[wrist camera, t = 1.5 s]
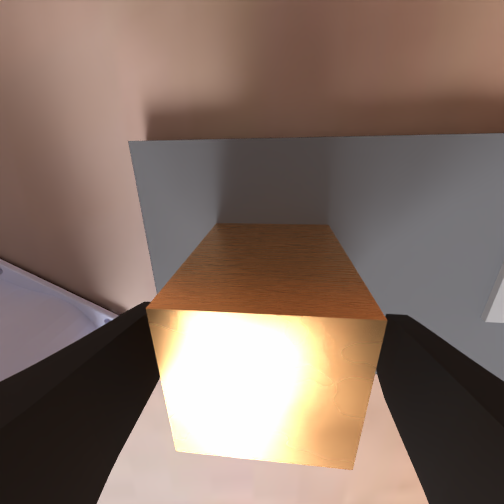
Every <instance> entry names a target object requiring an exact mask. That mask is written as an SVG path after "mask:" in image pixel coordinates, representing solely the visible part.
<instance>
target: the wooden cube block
mask: <svg viewBox="0 0 504 504" xmlns="http://www.w3.org/2000/svg"><path fill="white" fill-rule="evenodd" d="M146 312H147V317H148V322H149V326H150V331H151V336H152V340H153V345H154V350H155V354H156V359H157V364H158V368H159V373H160V378H161V382H162V387H163V392H164V396H165V401H166V406H167V410H168V415H169V420H170V425H171V429H172V434H173V439H174V443H175V448H176V451H180V452H190V453H199V454H208V455H218V456H227V457H236V458H246V459H255V460H264V461H273V462H283V463H292V464H301V465H311V466H320V467H329V468H338V469H348V470H353V466H354V462H355V458H356V453H357V449H358V445H359V440H360V436H361V432H362V427H363V423H364V419H365V415H366V410H367V406H368V402H369V397H370V393H371V389H372V385H373V380H374V376H375V372H376V367H377V363H378V359H379V354H380V350H381V346H382V342H383V337H384V333H385V329H386V324H387V319H386V317H385V316H384V314H383V312H382V311H381V309H380V307H379V306H378V304H377V303H376V301H375V299H374V298H373V296H372V294H371V293H370V291H369V290H368V288H367V286H366V285H365V283H364V281H363V280H362V278H361V277H360V275H359V273H358V272H357V270H356V269H355V267H354V265H353V264H352V262H351V260H350V259H349V257H348V256H347V254H346V252H345V251H344V249H343V247H342V246H341V244H340V243H339V241H338V239H337V238H336V236H335V234H334V233H333V231H332V230H331V228H330V226H329V225H316V224H239V223H216V224H215V225H214V227H213V228H212V229H211V230H210V231H209V233H208V234H207V235H206V236H205V237H204V239H203V240H202V241H201V242H200V243H199V245H198V246H197V247H196V248H195V250H194V251H193V252H192V253H191V254H190V256H189V257H188V258H187V259H186V260H185V262H184V263H183V264H182V265H181V266H180V268H179V269H178V270H177V271H176V272H175V274H174V275H173V276H172V277H171V278H170V280H169V281H168V282H167V283H166V285H165V286H164V287H163V288H162V289H161V291H160V292H159V293H158V294H157V295H156V297H155V298H154V299H153V300H152V301H151V303H150V304H149V305H148V306H147V307H146Z"/></svg>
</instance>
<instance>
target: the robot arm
mask: <svg viewBox="0 0 504 504" xmlns="http://www.w3.org/2000/svg"><path fill="white" fill-rule="evenodd" d="M150 303H151V302H143V303H141V304H139V305H137V306H135V307H134V308H132V309H130V310H128V311H126V312H125V313H123V314H121V315H120V316H119V315H117V314H115V313H112V312H110V311H108V310H106V309H104V308H102V307H100V306H98V305H96V304H94V303H92V302H89V301H87V300H85V299H83V298H81V297H79V296H77V295H75V294H73V293H71V292H68V291H66V290H64V289H62V288H60V287H58V286H56V285H54V284H52V283H50V282H47V281H45V280H43V279H41V278H39V277H37V276H35V275H33V274H31V273H29V272H27V271H24V270H22V269H20V268H18V267H16V266H14V265H12V264H10V263H8V262H6V261H3V260H1V259H0V504H97V501H98V499H99V497H100V495H101V492H102V490H103V488H104V485H105V483H106V481H107V479H108V476H109V474H110V472H111V470H112V468H113V466H114V464H115V462H116V460H117V458H118V456H119V454H120V452H121V450H122V448H123V446H124V444H125V443H126V441H127V439H128V437H129V435H130V433H131V431H132V429H133V428H134V426H135V424H136V422H137V420H138V418H139V416H140V415H141V413H142V411H143V409H144V407H145V405H146V403H147V401H148V399H149V398H150V396H151V394H152V392H153V390H154V388H155V386H156V384H157V382H158V380H159V378H160V373H159V368H158V364H157V359H156V354H155V350H154V345H153V340H152V336H151V331H150V326H149V322H148V317H147V312H146V307H147V306H148V305H149V304H150ZM385 317H386V319H387V324H386V329H385V333H384V337H383V342H382V346H381V350H380V354H379V359H378V363H377V367H376V371H377V375H378V378H379V382H380V385H381V388H382V392H383V395H384V398H385V400H386V403H387V405H388V408H389V410H390V412H391V415H392V417H393V420H394V422H395V424H396V427H397V429H398V431H399V434H400V436H401V438H402V441H403V443H404V445H405V448H406V450H407V452H408V455H409V457H410V459H411V462H412V464H413V466H414V469H415V471H416V473H417V476H418V478H419V480H420V483H421V485H422V487H423V490H424V492H425V495H426V497H427V500H428V503H429V504H504V381H503V380H501V379H500V378H498V377H497V376H495V375H494V374H492V373H491V372H489V371H488V370H486V369H485V368H483V367H482V366H481V365H479V364H478V363H476V362H475V361H473V360H472V359H470V358H469V357H468V356H466V355H465V354H463V353H462V352H460V351H459V350H458V349H456V348H455V347H453V346H452V345H451V344H449V343H448V342H446V341H445V340H444V339H442V338H441V337H439V336H438V335H436V334H435V333H434V332H432V331H431V330H429V329H428V328H426V327H425V326H424V325H422V324H421V323H419V322H418V321H416V320H415V319H413V318H412V317H410V316H408V315H402V314H386V316H385ZM109 319H110V320H111V321H110V320H109Z"/></svg>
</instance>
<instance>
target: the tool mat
mask: <svg viewBox="0 0 504 504" xmlns="http://www.w3.org/2000/svg"><path fill="white" fill-rule="evenodd" d="M128 143H129V148H130V153H131V159H132V164H133V169H134V174H135V180H136V185H137V190H138V196H139V201H140V206H141V212H142V217H143V222H144V228H145V233H146V238H147V243H148V249H149V254H150V259H151V265H152V270H153V275H154V281H155V286H156V291H157V294H158V293H159V292H160V291H161V289H162V288H163V287H164V286H165V285H166V283H167V282H168V281H169V280H170V278H171V277H172V276H173V275H174V274H175V272H176V271H177V270H178V269H179V268H180V266H181V265H182V264H183V263H184V262H185V260H186V259H187V258H188V257H189V256H190V254H191V253H192V252H193V251H194V250H195V248H196V247H197V246H198V245H199V243H200V242H201V241H202V240H203V239H204V237H205V236H206V235H207V234H208V233H209V231H210V230H211V229H212V228H213V227H214V225H215V224H216V223H239V224H316V225H329V226H330V228H331V230H332V231H333V233H334V234H335V236H336V238H337V239H338V241H339V243H340V244H341V246H342V247H343V249H344V251H345V252H346V254H347V256H348V257H349V259H350V260H351V262H352V264H353V265H354V267H355V269H356V270H357V272H358V273H359V275H360V277H361V278H362V280H363V281H364V283H365V285H366V286H367V288H368V290H369V291H370V293H371V294H372V296H373V298H374V299H375V301H376V303H377V304H378V306H379V307H380V309H381V311H382V312H383V314H384V316H386V314H402V315H408V316H410V317H412V318H413V319H415V320H416V321H418V322H419V323H421V324H422V325H424V326H425V327H426V328H428V329H429V330H431V331H432V332H434V333H435V334H436V335H438V336H439V337H441V338H442V339H444V340H445V341H446V342H448V343H449V344H451V345H452V346H453V347H455V348H456V349H458V350H459V351H460V352H462V353H463V354H465V355H466V356H468V357H469V358H470V359H472V360H473V361H475V362H476V363H478V364H479V365H481V366H482V367H483V368H485V369H486V370H488V371H489V372H491V373H492V374H494V375H495V376H497V377H498V378H500V379H501V380H503V381H504V133H487V134H440V135H393V136H345V137H298V138H251V139H204V140H157V141H128ZM375 374H377V371H376V372H375Z"/></svg>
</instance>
